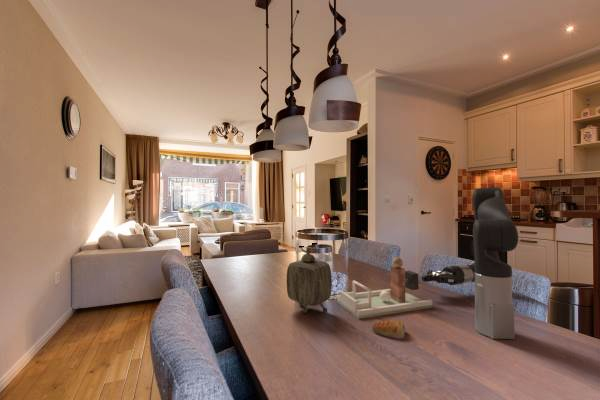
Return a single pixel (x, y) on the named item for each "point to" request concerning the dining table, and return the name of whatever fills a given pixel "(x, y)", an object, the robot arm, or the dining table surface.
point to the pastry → (390, 328)
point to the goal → (350, 298)
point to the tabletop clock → (309, 281)
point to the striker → (401, 280)
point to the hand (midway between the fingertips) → (422, 278)
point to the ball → (385, 296)
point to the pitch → (386, 304)
